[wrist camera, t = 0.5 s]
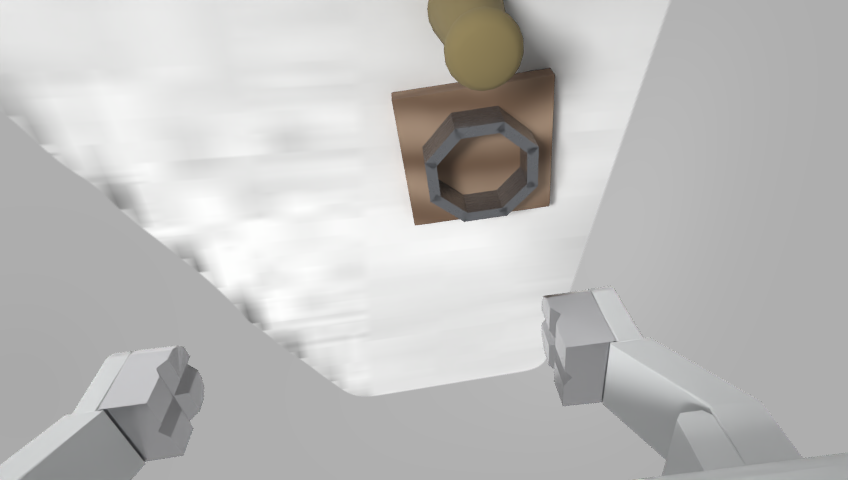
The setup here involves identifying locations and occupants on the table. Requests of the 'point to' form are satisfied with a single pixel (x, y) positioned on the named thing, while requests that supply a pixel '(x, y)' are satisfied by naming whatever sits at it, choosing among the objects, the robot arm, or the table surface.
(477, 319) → the table surface
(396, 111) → the walnut base
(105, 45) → the table surface
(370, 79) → the table surface
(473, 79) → the cork
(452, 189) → the metal collar
